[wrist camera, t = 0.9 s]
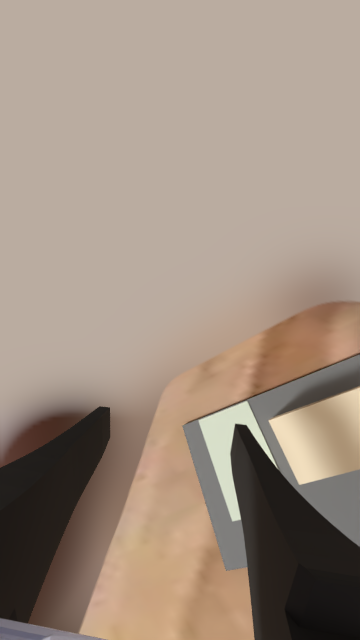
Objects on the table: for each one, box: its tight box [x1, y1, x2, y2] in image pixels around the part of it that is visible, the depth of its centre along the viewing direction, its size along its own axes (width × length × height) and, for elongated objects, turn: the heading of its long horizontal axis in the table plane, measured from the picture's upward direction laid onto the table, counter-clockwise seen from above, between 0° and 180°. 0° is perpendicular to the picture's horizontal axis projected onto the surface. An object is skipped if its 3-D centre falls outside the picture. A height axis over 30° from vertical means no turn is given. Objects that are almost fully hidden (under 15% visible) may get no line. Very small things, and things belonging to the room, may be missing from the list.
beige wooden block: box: [269, 386, 360, 485], centre depth 17 cm, size 8×4×3 cm, turn 113°
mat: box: [183, 354, 360, 571], centre depth 19 cm, size 20×12×1 cm, turn 113°
